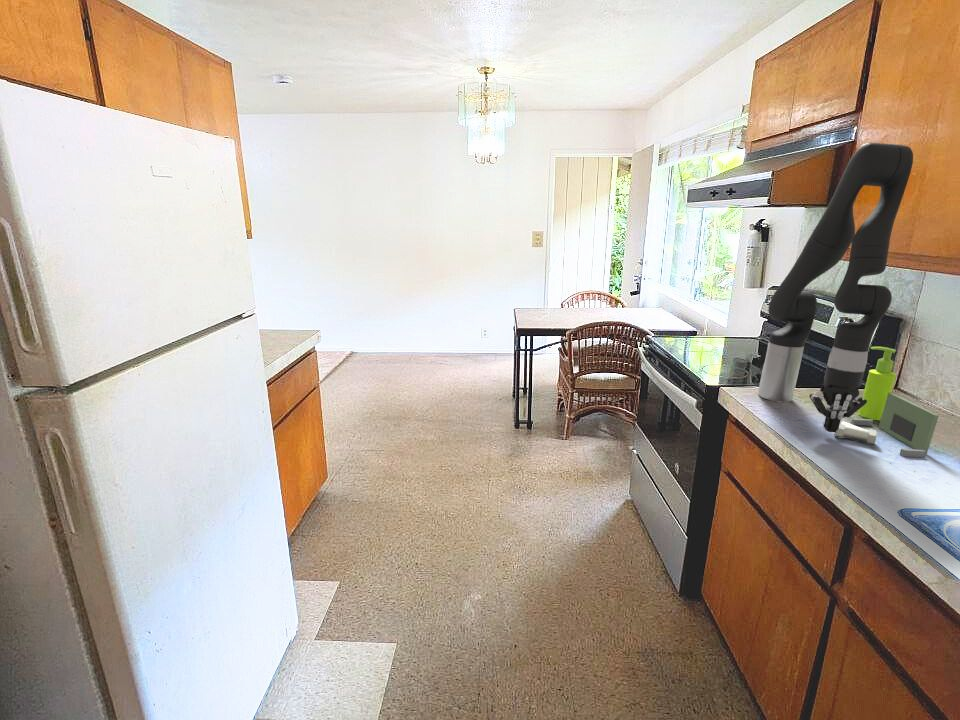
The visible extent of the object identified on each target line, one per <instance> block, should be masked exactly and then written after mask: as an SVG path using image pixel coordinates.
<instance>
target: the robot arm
mask: <svg viewBox="0 0 960 720" xmlns="http://www.w3.org/2000/svg"><path fill="white" fill-rule="evenodd" d="M913 164H914V153H913V150H912V148H911V147H910V146H908V145H903V144H895V143H894V144H893V143H885V142H884V143H881V142H867V143H863V144H861V145H860V146H859V147H858V148H857V149H856V150H855V151H854V153H853V154H852V156H851V157H850V159H849V161H848V162H847V165H846V167H845V169H844V171H843V174H842V176H841V178H840V180H839V182H838V184H837V186H836V188H835V191H834V193H833V196H831V197H832V198H831V199H830V201H829V203H828V205H827V207H826V209H825V211H824V212H823V214H822V216H821V218H820V219H819V220H818V223H817V225H815V228H814V229H813V231H812V233H811V234H810V236H809V238H808V240H807V241H806V243H805V245H804V247H803V249H802V250H801V253H800V254H799V256H798V257H797V260H796V261H795V263H794V264H793V266H792V267H791V269H790V270H789V272H788V274H787V275H786V276H785V278H784V280H783V281H782V282H781V283H780V285H779V286H778V287H777V289H776V290H775V292H774V293H773V295H772V297H771V299H770V301H769V305H768V315H769V317H770V318H771V319H772V320H774V321H776V322H783V323H784V322H785V323H786V322H788V323H787V324H786V325H785V326H783V327H782V328H779V329H777V330H774V331H772V332H771V333H770V334H769V339H768V343H767V348H766V349H767V350H766V353H765V359H764V362H763V366H762V371H761V376H760V381H759V385H758V386H759V387H758V391H757V392H758V396H759V397H761V398H762V399H765V400H769V401H772V402H777V403H790V402H792V401H793V398H794V393H795V391H796V385H797V380H798V378H799V377H798V376H799V372H800V371H799V370H800V367H801V362H802V358H803V355H804V354H803V353H804V348H805V346H806V341H807V340H808V338H809V336H810V334H811V330H812V327H813V323H814V320H815V317H816V313H817V310H818V309H817V306H818V301H817V297H816V295H815V293H814V292H813V291H810V290H804V289H806V287H807V286H808V285H809V284H810V283H811V282H813V281H814V280H816V279H817V278H819V277H820V276H821V275H823V274H825V273H827V272H828V271H829V270H831V269H832V268H833V267H835V266H836V265H837V264H838V263H839V262H840V261H841V260H842V258H843V257H844V256H845V254H846V253H847V251H848V249H849V248H850V254H849V261H848V266H847V269H846V273H845V275H844V277H843V280H842V282H841V284H840V286H839V288H838V290H837V291H836V294H835V296H834V300H833V302H834V303H833V304H834V307H835V309H836V310H837V311H838V312H840V313H841V314H851V315H853V314H854V315H863V316H862V317H861V318H860V319H859V320H857V321H852V322H844V323H840V324H839V325H837V328H836V332H835V336H834V341H833V345H832V348H831V350H830V352H829V355H828V360H827V364H826V369H825V373H824V377H823V385H822V386H821V387H820V389H819V391H818V392H817V393H815V394H814V393H810V394H809V398H810V400H811V402H812V403H813V405H814V407H815V409H816V410H817V411H818V413H819V414H821V415H823V416H824V417H825V418H824V422H823V428H824V430H825V431H826V432H828V433H834V434H835V432H836V430H838V429H839V425H840V423H841V420H842V419H843V418H850V417H852V416H853V415H854V414H855V413H857V412H859V409H860V408H861V407H862V406H864V405H865V404H866V403H867V400H865V399H864V398H862V397H863V396H861V395H860V391H859V390H860V389H859V388H860V387H861V386H862V383H863V379H864V374H865V371H866V366H867V362H868V356H869V355H868V354H869V349H870V345H871V342H872V338H873V335H874V332H875V331H876V330H877V329H876V328H877V327H878V325H879V324H880V322H881V320H882V319H883V317H884V316H885V314H886V313H887V312H888V310H889V307H890V306H891V303H892V299H893V297H892V291H891V290H890V289H889V288H888V287H886V286H885V285H879V284H861V283H859V281H860V279H861V278H862V277H863V278H864V277H867V276H868V277H870V276H875V275H876V276H877V275H881V274H883V273H884V271H886V268H887V261H888V256H889V249H890V248H889V247H890V243H891V241H890V240H891V237H892V232H893V227H894V223H895V220H896V217H897V214H898V212H899V209H900V206H901V203H902V200H903V197H904V193H905V191H906V188H907V186H908V182H909V178H910V176H911V172H912V170H913V169H912V168H913ZM864 186H871V187H879V188H880V195H879V199H878V202H877V204H876V206H875V207H874V209H873V210H872V212H871V213H870V215H869V216H868V217H867V218H866V219H865V220H864V222H862V224H861V225H860V226H859V228H858V229H857V230H856V225H855V218H854V204H855V201H856V200H857V199H856V198H857V197H858V195H859V193H860V191H861V189H862V188H863V187H864ZM850 246H851V247H850ZM823 401H825V403H823Z"/></svg>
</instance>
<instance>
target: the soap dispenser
mask: <svg viewBox="0 0 960 720" xmlns="http://www.w3.org/2000/svg"><path fill="white" fill-rule="evenodd" d="M870 349H871V350H872V351H873V350H877V351H878V350H879V351H884V352H883V356H882V358H879V359H877V363H876V366H875V369H869V370H868V375H867V378H866V382H865V385H864V389H863V392H862V396H861V397H862V398H864V399H865V400H867V403H866V404H865V405H864V406H862V407H861V408H860V409H859V410H858V411H857V414H858V416H860V417H862V418H863V419H871V420H873V421H880V420H881V417H882V413H883V410H884V406H885V403H886V399H887V395H888V393H893V389H894V384H895V381H896V378H897V374H896V373H894V372H892V370H893V366H894V360H892V359H891V358H892V357H893V354H895V353H896V351H897V350H896V349H895V348H891V347H886V346H871V347H870Z"/></svg>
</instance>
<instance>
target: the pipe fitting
mask: <svg viewBox="0 0 960 720" xmlns="http://www.w3.org/2000/svg"><path fill="white" fill-rule="evenodd" d="M877 436H878V431H877V430H875V429H870V428H869V429H866V428H863V427H860V426H859V425H853V424H851V422H850V423H849V422H847V421H842V422H840V425H839V429H838V430H836V432H835V433H834V437H835V438H839V439H846V440H850V441H855V442H860V443H865V444H867V445H872V446H874V445H875V443H876V441H877Z"/></svg>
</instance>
